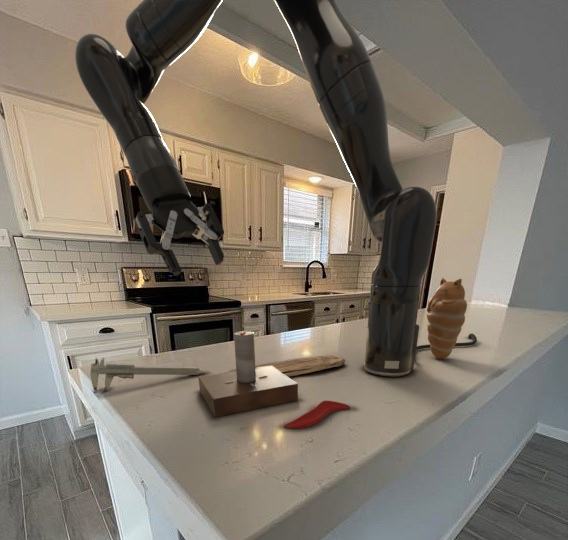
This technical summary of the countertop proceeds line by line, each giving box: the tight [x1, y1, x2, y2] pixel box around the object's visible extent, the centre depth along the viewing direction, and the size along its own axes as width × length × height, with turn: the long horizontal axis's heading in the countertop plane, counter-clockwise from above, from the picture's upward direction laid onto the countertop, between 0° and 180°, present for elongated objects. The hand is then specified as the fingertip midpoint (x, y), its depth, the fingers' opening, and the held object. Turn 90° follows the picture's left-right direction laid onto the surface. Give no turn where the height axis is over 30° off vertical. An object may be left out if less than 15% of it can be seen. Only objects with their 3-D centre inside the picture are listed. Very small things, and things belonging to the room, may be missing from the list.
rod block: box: [198, 366, 299, 418], centre depth 55 cm, size 14×11×3 cm
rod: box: [233, 330, 256, 383], centre depth 53 cm, size 3×3×8 cm
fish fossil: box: [234, 354, 346, 378], centre depth 69 cm, size 26×10×1 cm, turn 118°
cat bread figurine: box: [426, 277, 468, 359], centre depth 72 cm, size 9×8×18 cm
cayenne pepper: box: [283, 400, 351, 429], centre depth 48 cm, size 12×5×2 cm, turn 114°
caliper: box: [89, 356, 207, 392], centre depth 62 cm, size 20×1×6 cm, turn 119°
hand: (200, 268), depth 57 cm, fingers open, 8 cm apart
